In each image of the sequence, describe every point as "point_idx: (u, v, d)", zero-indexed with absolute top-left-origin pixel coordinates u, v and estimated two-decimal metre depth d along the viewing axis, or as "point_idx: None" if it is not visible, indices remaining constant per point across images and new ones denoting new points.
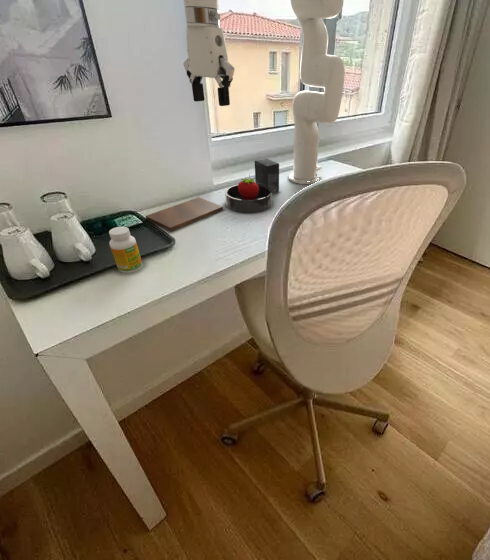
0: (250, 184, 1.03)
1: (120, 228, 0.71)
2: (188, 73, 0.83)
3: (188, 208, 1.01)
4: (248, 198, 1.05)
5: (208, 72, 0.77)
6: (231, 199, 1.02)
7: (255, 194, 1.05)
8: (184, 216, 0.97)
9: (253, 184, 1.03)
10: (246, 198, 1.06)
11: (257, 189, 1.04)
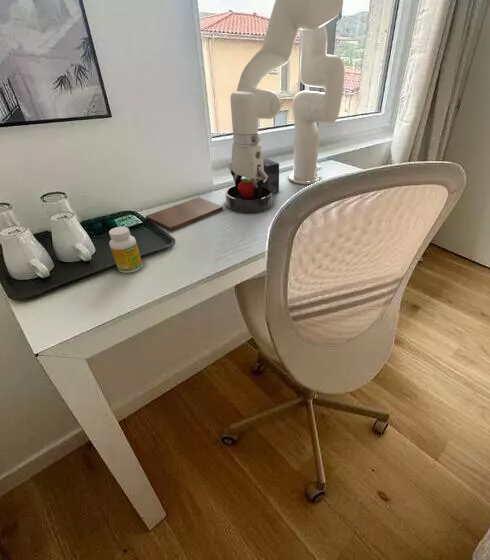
0: (250, 184, 1.03)
1: (120, 228, 0.71)
2: (232, 173, 1.05)
3: (188, 208, 1.01)
4: (248, 198, 1.05)
5: (248, 175, 1.00)
6: (231, 199, 1.02)
7: None
8: (184, 216, 0.97)
9: (253, 184, 1.03)
10: (246, 198, 1.06)
11: None
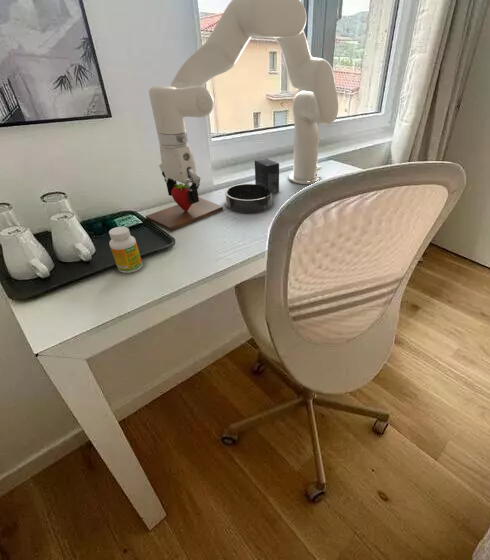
0: (183, 190, 0.94)
1: (120, 228, 0.71)
2: (163, 174, 0.96)
3: None
4: (183, 205, 0.96)
5: (178, 179, 0.91)
6: (231, 199, 1.02)
7: None
8: (184, 216, 0.97)
9: (187, 190, 0.94)
10: (181, 205, 0.97)
11: None
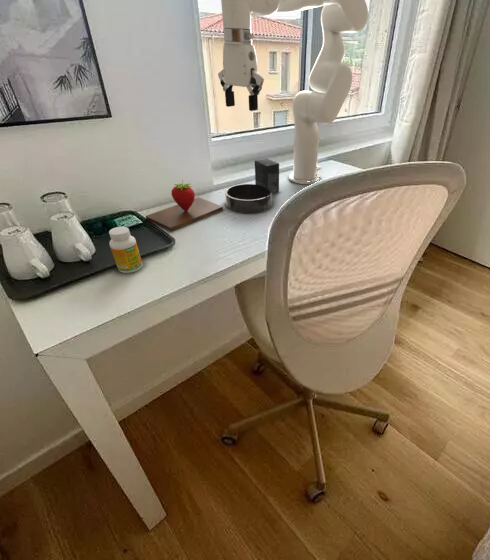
0: (183, 190, 0.94)
1: (120, 228, 0.71)
2: (222, 82, 0.96)
3: None
4: (183, 205, 0.96)
5: (240, 82, 0.90)
6: (231, 199, 1.02)
7: (190, 201, 0.96)
8: (184, 216, 0.97)
9: (187, 190, 0.94)
10: (181, 205, 0.97)
11: (192, 195, 0.95)
